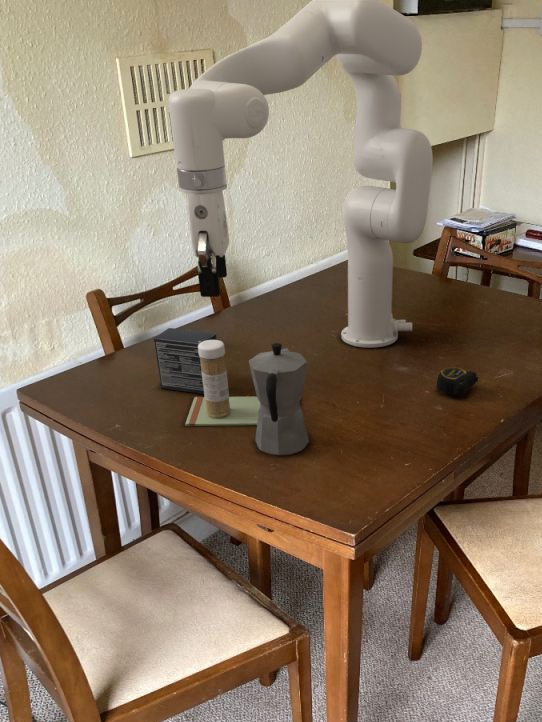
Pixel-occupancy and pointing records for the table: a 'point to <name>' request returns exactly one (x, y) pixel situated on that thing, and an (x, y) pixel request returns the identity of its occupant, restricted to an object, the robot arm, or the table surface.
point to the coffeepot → (279, 400)
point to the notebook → (241, 414)
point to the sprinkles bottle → (214, 378)
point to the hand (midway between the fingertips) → (214, 286)
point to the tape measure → (455, 381)
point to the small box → (180, 359)
